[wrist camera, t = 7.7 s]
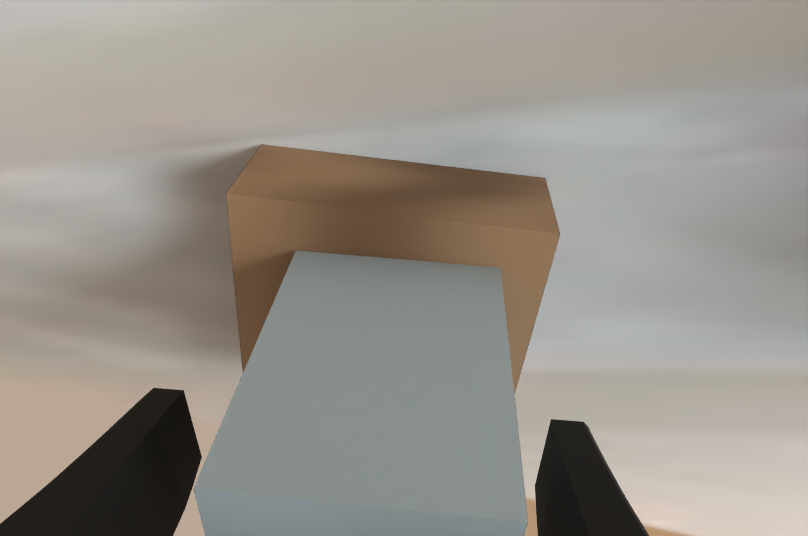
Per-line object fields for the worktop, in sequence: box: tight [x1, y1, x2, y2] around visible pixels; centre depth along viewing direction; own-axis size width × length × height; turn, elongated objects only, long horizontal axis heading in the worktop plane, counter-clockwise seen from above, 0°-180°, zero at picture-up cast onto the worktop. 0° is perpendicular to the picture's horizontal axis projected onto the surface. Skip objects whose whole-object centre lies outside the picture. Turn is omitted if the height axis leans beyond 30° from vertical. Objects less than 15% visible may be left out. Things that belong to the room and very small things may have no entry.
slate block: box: [194, 250, 528, 536], centre depth 12 cm, size 4×4×6 cm
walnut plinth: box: [226, 145, 560, 394], centre depth 15 cm, size 7×7×3 cm
